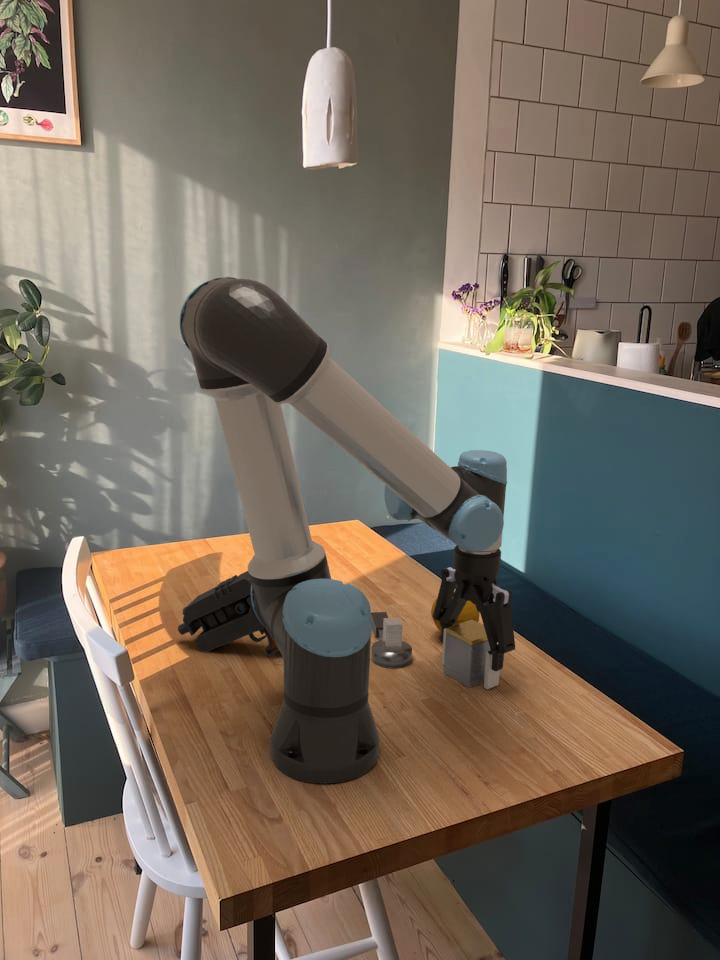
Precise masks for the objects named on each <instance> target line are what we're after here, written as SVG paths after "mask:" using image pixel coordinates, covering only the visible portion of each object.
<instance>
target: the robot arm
mask: <svg viewBox="0 0 720 960" xmlns="http://www.w3.org/2000/svg"><path fill="white" fill-rule="evenodd" d="M179 331H180V336H181V338H182V341H183V343H184V345H185V347H187V349H188V350H189V352H190V353H191V358H192V360H193V361H192V362H193V365H194V368H195V373H196V377H197V380H198V384H199V387H200V390H201V391H202V392H204V393H206V394H207V395H209V396H210V397H212V398H213V399H214V400H215V404H216V408H217V412H218V413H217V414H218V417H219V421H220V424H221V428H222V431H223V436H224V440H225V443H226V446H227V451H228V456H229V459H230V464H231V468H232V472H233V475H234V479H235V483H236V487H237V490H238V491H237V492H238V495H239V499H240V502H241V506H242V507H241V508H242V510H243V514H244V517H245V522H246V526H247V529H248V533H249V537H250V541H251V545H252V550H253V553H254V555H253V556H252V558H251V560H249V562H248V564H247V571H248V572H249V576H250V580H251V601H252V606H253V609H254V612H255V614H256V616H257V618H258V619H259V621H260V622H261V623H262V625H263V626H264V627H265V628H266V630H267V631H268V633H269V634H270V636H271V637H272V639H273V640H274V642H275V644H276V646H277V647H278V649H279V652H280V654H281V655H282V660H283V698H282V699H283V700H282V703H281V706H280V709H279V712H278V715H277V718H276V720H275V723H274V726H273V729H272V732H271V735H270V758H271V761H272V762H273V764H274V765H275V766H276V768H277V769H279V771H281V772H282V773H283V774H286V775H287V776H289V777H290V778H294V779H297V780H299V781H303V782H307V783H314V784H335V783H336V784H337V783H342V782H347V781H351V780H353V779H356V778H359V777H361V776H363V775H364V774H365V775H366V773H368V772H369V771H370V770H371V769H373V767H374V766H375V765H376V763H377V761H379V757H380V735H379V730H378V728H377V723H376V722H375V719H374V715H373V712H372V709H371V705H370V702H369V689H370V687H369V686H370V667H371V666H370V665H371V646H372V645H371V643H372V642H371V641H372V640H371V639H372V638H371V637H372V631H373V629H372V620H371V612H372V611H371V604H370V602H369V600H368V599H369V598H368V597H367V595H365V593H364V592H363V591H361V589H359V588H358V587H356V586H355V585H352V584H351V583H343V581H341V580H339V579H332V575H331V571H330V568H329V563H328V559H327V554H326V550H325V548H324V546H323V545H321V544H320V543H318V542H316V541H315V540H313V539H312V535H311V531H310V530H311V529H310V526H309V523H308V522H309V521H308V516H307V514H306V513H307V512H306V508H305V505H304V499H303V495H302V491H301V488H300V482H299V477H298V474H297V469H296V465H295V462H294V456H293V452H292V448H291V443H290V439H289V434H288V429H287V425H286V422H285V418H284V413H283V412H284V411H283V409H282V404H289V405H290V406H292V407H293V408H294V409H295V410H296V411H298V413H300V414H301V415H302V416H303V417H305V418H306V419H307V421H309V422H311V424H312V425H314V426H315V427H316V428H318V429H319V430H320V431H321V432H323V434H325V435H326V436H327V437H328V438H330V440H332V441H333V442H334V443H335V444H337V445H338V447H340V448H341V449H343V451H345V452H346V453H347V454H348V455H349V456H350V457H352V458H353V459H354V460H356V461H357V462H358V463H359V464H360V465H361V466H363V467H364V469H366V470H367V471H368V472H369V473H371V474H372V475H373V476H374V477H376V478H377V479H378V480H379V481H380V482H381V483H383V484H384V503H385V504H384V505H385V507H386V510H387V513H388V514H389V516H390V517H391V518H392V519H394V520H396V521H408V522H410V521H412V520H419V521H421V522H422V523H424V524H425V525H427V526H428V527H430V528H431V529H433V530H435V531H437V532H438V533H440V534H441V535H442V536H444V537H445V538H447V539H448V540H450V541H451V542H452V543H453V544H454V545H455V547H453V548H454V549H453V564H452V565H453V566H450V567H446V568H442V569H441V570H440V573H441V575H440V577H441V578H440V579H441V580H440V581H441V582H440V585H439V586H440V587H439V590H438V595H437V598H436V599H437V601H436V605H435V609H434V613H433V618H434V620H438V621H439V622H440V625H441V627H442V632H441V633H440V634H441V635H440V637H441V638H440V641H441V644H442V652H441V653H442V655H441V664H442V665H443V666H444V658H445V641H446V628H447V627H450V626H453V624H455V623H458V622H456V620H457V618H458V617H459V615H460V613H461V611H462V609H463V608H464V606H465V604H466V602H467V601H471V602H472V603H473V604H475V605H476V608H477V611H478V612H479V613H480V614H479V615H480V616H481V621H482V624H483V625H484V628H485V632H486V635H487V639H488V642H489V646H490V650H487V651H486V664H485V679H484V682H483V689H486V690H489V689H493V688H494V687H496V686H500V676H501V675H500V672H501V671H502V670H503V668H504V658H505V654H507V653H509V652H513V651H514V650H515V649H516V641H515V640H516V639H515V633H514V623H513V615H512V605H511V603H512V598H513V591H512V590H511V589H502V587H501V588H500V587H499V585H498V581H497V577H498V574H499V573H500V570H501V560H502V551H501V549H500V548H501V547H502V543H503V542H502V541H503V532H504V531H503V529H504V526H505V525H504V524H505V522H504V519H505V518H504V515H505V504H506V493H507V492H506V490H507V485H508V479H507V478H508V477H507V476H508V475H507V474H508V473H507V472H508V468H507V465H508V464H507V459H506V457H505V456H504V455H502V454H501V453H498V452H495V451H490V450H485V449H484V450H483V449H473V450H472V449H471V450H468V451H463V452H462V453H460V455H459V458H458V462H457V466H456V465H455V466H451V467H450V465H448V464H447V463H446V462H445V461H444V460H442V458H440V457H439V456H438V455H437V454H436V453H435V452H434V451H433V450H432V449H430V447H429V446H427V445H426V444H425V443H424V442H423V441H422V440H421V439H420V438H419V437H417V435H416V434H414V433H413V432H412V431H411V430H410V429H409V428H408V427H406V425H404V423H403V422H401V421H400V420H399V419H398V418H397V417H396V416H394V415H393V413H391V412H390V411H389V410H388V409H387V408H386V407H385V406H383V404H382V403H381V402H379V401H378V400H377V399H376V398H375V397H374V396H373V395H372V394H370V392H368V391H367V390H366V389H365V388H364V387H363V386H362V385H361V384H360V383H358V382H357V381H356V380H355V379H354V378H353V377H352V376H351V375H350V374H349V373H347V372H346V371H345V369H343V368H342V366H340V365H339V364H338V363H337V362H336V361H335V360H333V359H332V358H331V357H330V345H329V344H328V342H326V341H325V340H324V339H323V338H322V337H321V336H320V335H319V334H318V333H316V331H315V330H313V328H311V326H310V325H309V324H308V323H307V322H306V321H305V320H304V319H303V318H302V316H301V315H299V314H298V313H297V312H296V311H295V310H294V309H293V308H292V307H291V306H290V305H289V303H287V302H286V301H285V299H284V298H283V297H282V296H281V295H279V294H278V293H277V292H276V291H275V290H273V289H272V288H271V287H269V286H268V285H266V284H264V283H262V282H259V281H257V280H253V279H249V278H237V277H232V276H226V277H215V278H211V279H209V280H205V281H204V282H203V283H201V284H199V285H198V286H196V287H195V288H194V289H193V290H192V291H190V293H189V294H188V295H187V296H186V298H185V300H184V302H183V304H182V306H181V309H180V313H179ZM452 598H453V599H452ZM486 603H487V604H486ZM433 618H432V619H433Z"/></svg>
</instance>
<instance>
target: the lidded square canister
mask: <svg viewBox="0 0 720 960" xmlns="http://www.w3.org/2000/svg"><path fill="white" fill-rule="evenodd" d="M487 650H490V646H489V642H488V639H487V635H486V632H485V628H484V625H483V623H480V622H476V621H474V620H469V621H466V622H463V623H460V624H456V625H453V626H450V627H447V628H446V641H445V658H444V665H443V674H444V675H446V676H448V677H449V678H451V679H454V680H455V681H457V683H460V684H462V685H464V686H465V687H467V688H468V689H469V688H473V687H475V686H477V685H480V684H482V683H484V679H485V664H486V651H487Z"/></svg>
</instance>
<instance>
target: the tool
mask: <svg viewBox="0 0 720 960" xmlns="http://www.w3.org/2000/svg"><path fill="white" fill-rule="evenodd" d="M182 615H183V618H182V622H183V623H181V624H179V625H178V627H177V631H178V632H179V634H180V635H185V634H188V633H189V634H190V636H191V637H192V636H194V635H195V634H196V633H197V632H198V631H199V630H200V629H202V631H201V632H200V633H199V634H198V635H197V637H196V638H195V639H194V643H195V644H196V646H197V648H198V649H199V650H200V651H201V652H204V653H207V652H210V651H211V650H214V649H217V648H219V647H222V646H224V645H226V644H227V645H228V644H229V643H232V642H235V641H236V640H239V639H242V638H243V637H244V638H245V637H246V636H248V637H249V638H250V639H251V641H252V642H254V643H260V642H261V641H263V640H265V639H266V638H267V641H268V645H267V646H266V648H265V649H264V652H265V654H266V656H267V657H271V656H272V655H274V654H276V653H277V652H278V651H279V652H280V650H279V649H278V647H277V646H276V644H275V642H274V640H273V639H272V637H271V636H270V634H269V633H268V631H267V630H266V628H265V627H264V626H263V625H262V623H261V622H260V621H259V619H258V618H257V616H256V614H255V612H254V609H253V606H252V601H251V580H250V576H249V572H248V570H247V571H244V572H243V573H241V574H239V575H237V574H235V575H232V577H229V578H226V579H225V580H223V581H220V582H219V584H217V585H216V586H215V587H213V588H211V589H208V590H207V591H205V592H203V593H201V594H199V595H197V596H196V597H195V598H194V599H193V600H192V601H191V602H190V603H188V605H186V606H184V607H183V608H182ZM256 632H259V633H260V635H263V636H260V637H256V636H255V635H254V633H256Z"/></svg>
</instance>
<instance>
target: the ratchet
mask: <svg viewBox="0 0 720 960" xmlns="http://www.w3.org/2000/svg"><path fill="white" fill-rule="evenodd" d="M371 620H372V631H373V634H374V637H375V639H378V640H377V641H375V642H373V644H372V645H371V651H370V660H371V661H372V663H373V664H375V665H377V666H379V667H383V668H387V669H400V668H405V667H406V666H408V665H410V664H411V662H412V659H413V657H412V655H413V648H412V647H413V646H412V645H410V644H409V643H408V642H407V641H403V622H402V620H401V618H400V617H389V615H388V613H387V611H377V612H376V611H373V612H372V611H371Z"/></svg>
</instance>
